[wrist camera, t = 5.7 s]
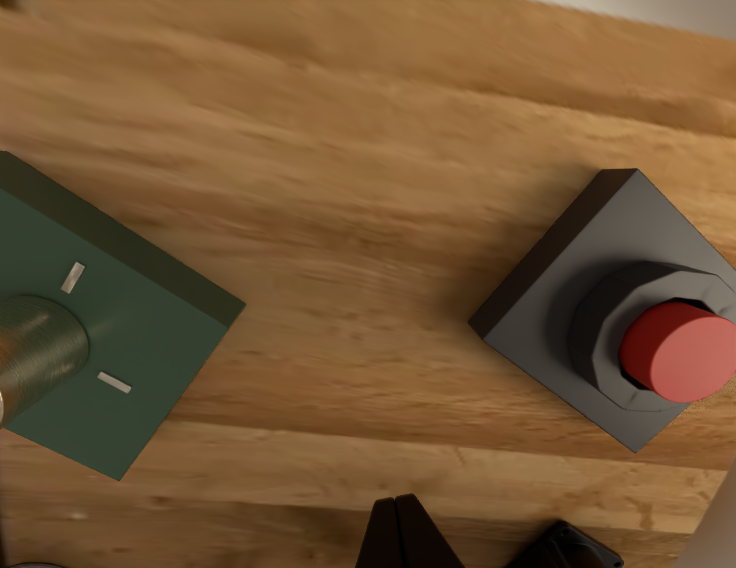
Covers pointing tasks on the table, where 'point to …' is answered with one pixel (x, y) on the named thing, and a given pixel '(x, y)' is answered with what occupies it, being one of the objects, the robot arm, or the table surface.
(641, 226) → the lamp switch
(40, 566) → the figurine
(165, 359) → the dimmer panel
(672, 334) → the light button
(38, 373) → the dimmer knob
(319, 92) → the table surface
